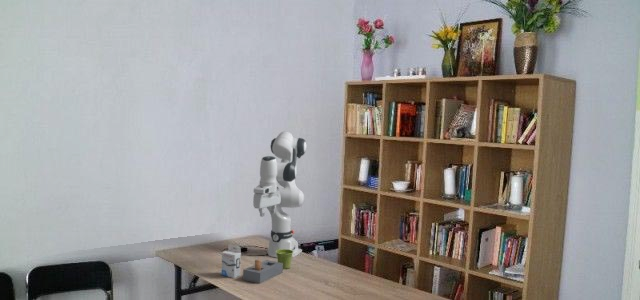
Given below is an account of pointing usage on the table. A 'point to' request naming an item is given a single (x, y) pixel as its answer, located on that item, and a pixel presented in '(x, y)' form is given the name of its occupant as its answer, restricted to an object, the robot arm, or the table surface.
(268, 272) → the hole block
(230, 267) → the ink box
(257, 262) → the peg
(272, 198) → the robot arm
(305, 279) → the table surface
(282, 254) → the plant pot
